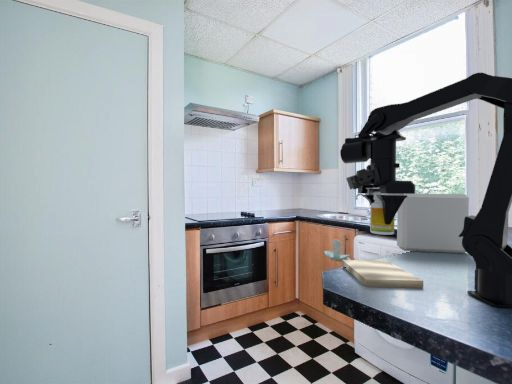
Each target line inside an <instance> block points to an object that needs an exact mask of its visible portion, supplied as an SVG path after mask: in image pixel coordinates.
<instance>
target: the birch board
mask: <svg viewBox="0 0 512 384" xmlns="http://www.w3.org/2000/svg"><path fill="white" fill-rule="evenodd" d="M341 266H342V267H343V268H344V267H346V268H345V270H347V271H348V272H349V273H350V274H351V275H352V276H354V278H356V279H357V280H358V281H359V282H360V283H361V284H362V285H363V286H365V287H366V288H367V287H368V288H369V287H370V288H371V287H372V288H373V287H374V288H411V289H414V288H418V289H424V279H421V278H419V277H417V276H415V275H414V274H412V273H410V272H408V271H406V270H405V269H403V268H400V267H399V266H398V265H395V264H393V263H392V262H390V261H388V260H378V259H377V260H372V259H371V260H370V259H369V260H368V259H350V260H342V262H341ZM348 266H349V267H348Z"/></svg>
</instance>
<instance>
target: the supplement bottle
mask: <svg viewBox="0 0 512 384" xmlns="http://www.w3.org/2000/svg"><path fill="white" fill-rule="evenodd" d="M376 195H383V194H374V200H375V202H374V203H372V204H371V206H370V213H369V215H370V217H369V218H370V219H369V228H370V229H369V231H370V233H372V234H376V235H381V236H382V235H384V236H385V235H389V236H390V235H394V234H395V217H394V218H393V220H392V222H391V224H390V225H386V224H385V221H384V214H383V206H382V201H381V200H380V199H379V198H378V197H377V196H376Z"/></svg>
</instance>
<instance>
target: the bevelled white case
mask: <svg viewBox="0 0 512 384" xmlns="http://www.w3.org/2000/svg"><path fill="white" fill-rule="evenodd" d="M404 195H407V198H405V199H404V201H403V203H402V204H401V206H400V208H399V209H398V211H397V213H396V214H397V217H396V218H397V219H396V220H397V221H396V224H397V227H396V232H397V233H396V246H397V247H398V248H399V249H401V250H403V251H405V252H423V251H425V252H427V253H449V254H465V253H467V252H466V251H465V249H464V248H463V246H462V239H463V237H459V235H460V234H461V233H462V231H463V228H464V219H465V217H466V216H469V214H470V213H469V212H470V211H469V210H470V209H469V207H470V206H469V205H470V204H469V202H470V200H469V199H470V197H468V196H467V194H466V193H465V194H461V193H457V194H456V193H415V194H404ZM416 250H418V251H416Z"/></svg>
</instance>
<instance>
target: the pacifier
mask: <svg viewBox="0 0 512 384" xmlns="http://www.w3.org/2000/svg"><path fill="white" fill-rule="evenodd" d="M331 247H332V249H333V250H332V251H331V250H324V255H325V256H326V257H328V258H329V259H330V260H331V261H334V262H339V263H340V262H341V263H342V260H351V258H350V256H351V255H350V254H341V253H342V252H341V250H342V248H343V243H342V242H341V241H340V239H333V240H332V242H331Z"/></svg>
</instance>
